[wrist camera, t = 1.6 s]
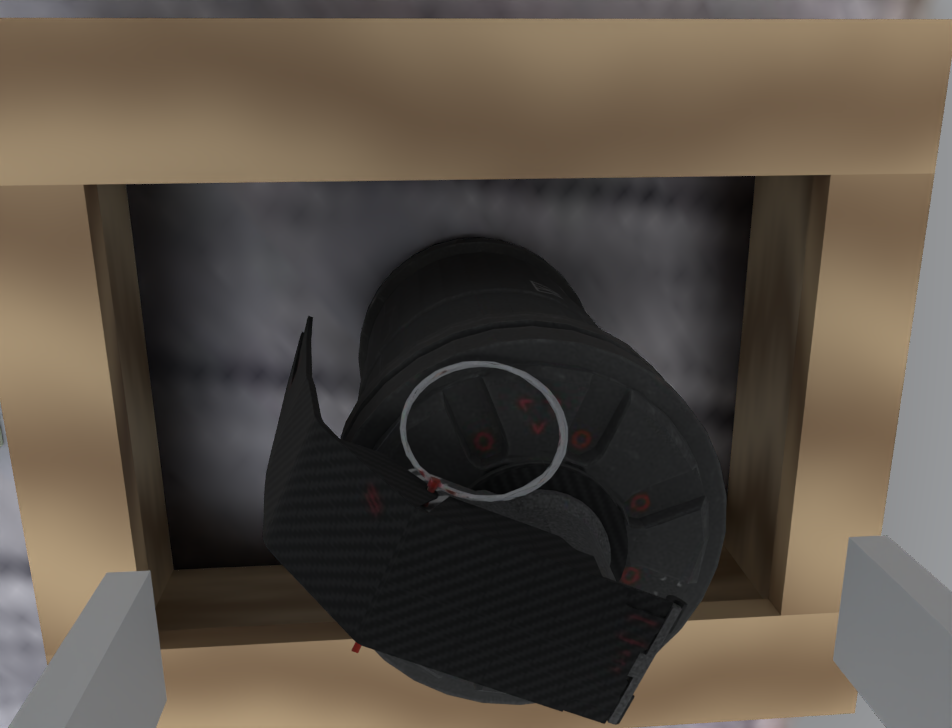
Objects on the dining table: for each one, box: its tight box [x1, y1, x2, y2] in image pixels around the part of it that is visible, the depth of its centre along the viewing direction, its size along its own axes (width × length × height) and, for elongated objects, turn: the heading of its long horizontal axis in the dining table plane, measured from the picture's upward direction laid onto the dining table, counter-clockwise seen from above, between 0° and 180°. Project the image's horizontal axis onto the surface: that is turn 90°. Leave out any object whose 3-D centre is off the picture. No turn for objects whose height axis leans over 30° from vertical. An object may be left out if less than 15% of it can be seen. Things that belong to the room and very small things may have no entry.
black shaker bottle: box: [263, 238, 727, 725], centre depth 25 cm, size 9×11×20 cm
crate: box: [0, 18, 952, 728], centre depth 30 cm, size 22×26×10 cm
